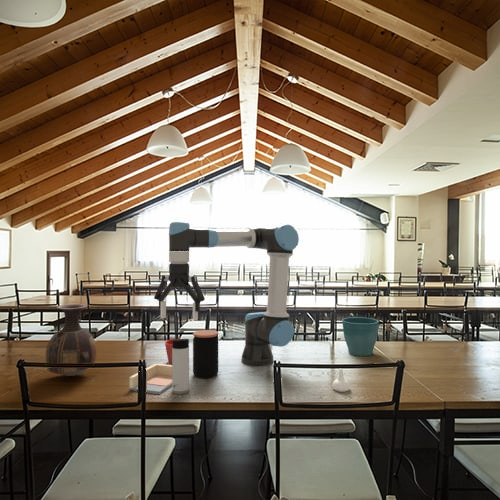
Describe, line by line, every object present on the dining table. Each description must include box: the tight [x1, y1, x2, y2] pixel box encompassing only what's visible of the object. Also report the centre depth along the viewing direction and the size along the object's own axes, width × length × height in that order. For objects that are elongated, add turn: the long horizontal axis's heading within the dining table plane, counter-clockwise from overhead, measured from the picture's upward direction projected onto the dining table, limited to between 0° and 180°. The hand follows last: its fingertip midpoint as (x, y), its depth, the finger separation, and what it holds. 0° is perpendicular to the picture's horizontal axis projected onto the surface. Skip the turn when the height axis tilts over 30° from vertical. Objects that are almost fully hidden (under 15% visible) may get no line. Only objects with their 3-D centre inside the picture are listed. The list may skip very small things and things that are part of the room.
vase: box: [44, 303, 97, 377], centre depth 159 cm, size 23×19×30 cm
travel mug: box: [171, 338, 190, 395], centre depth 143 cm, size 6×7×20 cm
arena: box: [129, 363, 172, 395], centre depth 151 cm, size 13×18×5 cm
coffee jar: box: [192, 329, 219, 380], centre depth 162 cm, size 11×11×18 cm
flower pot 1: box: [164, 338, 181, 365], centre depth 180 cm, size 11×11×10 cm
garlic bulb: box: [332, 368, 350, 393], centre depth 145 cm, size 6×6×8 cm
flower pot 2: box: [341, 316, 380, 357], centre depth 195 cm, size 18×18×17 cm
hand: (179, 319), depth 144 cm, fingers open, 13 cm apart
